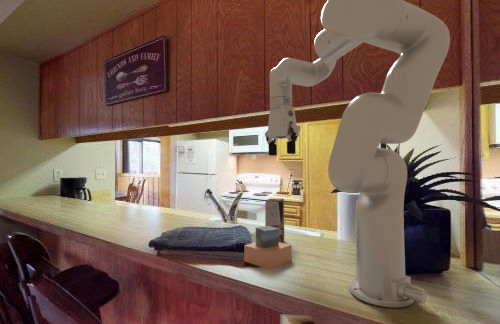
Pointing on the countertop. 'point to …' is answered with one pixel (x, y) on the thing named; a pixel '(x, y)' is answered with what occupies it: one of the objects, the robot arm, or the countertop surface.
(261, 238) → the slate cube
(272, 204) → the coffee box
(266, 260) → the terracotta block
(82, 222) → the countertop surface
